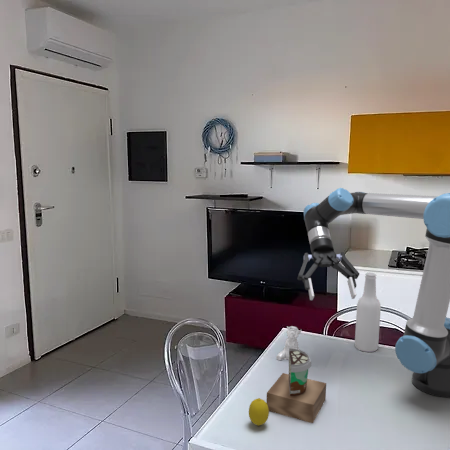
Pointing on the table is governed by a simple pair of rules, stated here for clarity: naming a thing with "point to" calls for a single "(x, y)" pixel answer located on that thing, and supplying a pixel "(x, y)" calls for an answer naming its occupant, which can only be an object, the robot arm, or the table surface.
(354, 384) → the table surface
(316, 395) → the square wooden plinth
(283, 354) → the white creature statuette
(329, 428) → the table surface
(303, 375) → the food container
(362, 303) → the alcohol
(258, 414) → the lemon
